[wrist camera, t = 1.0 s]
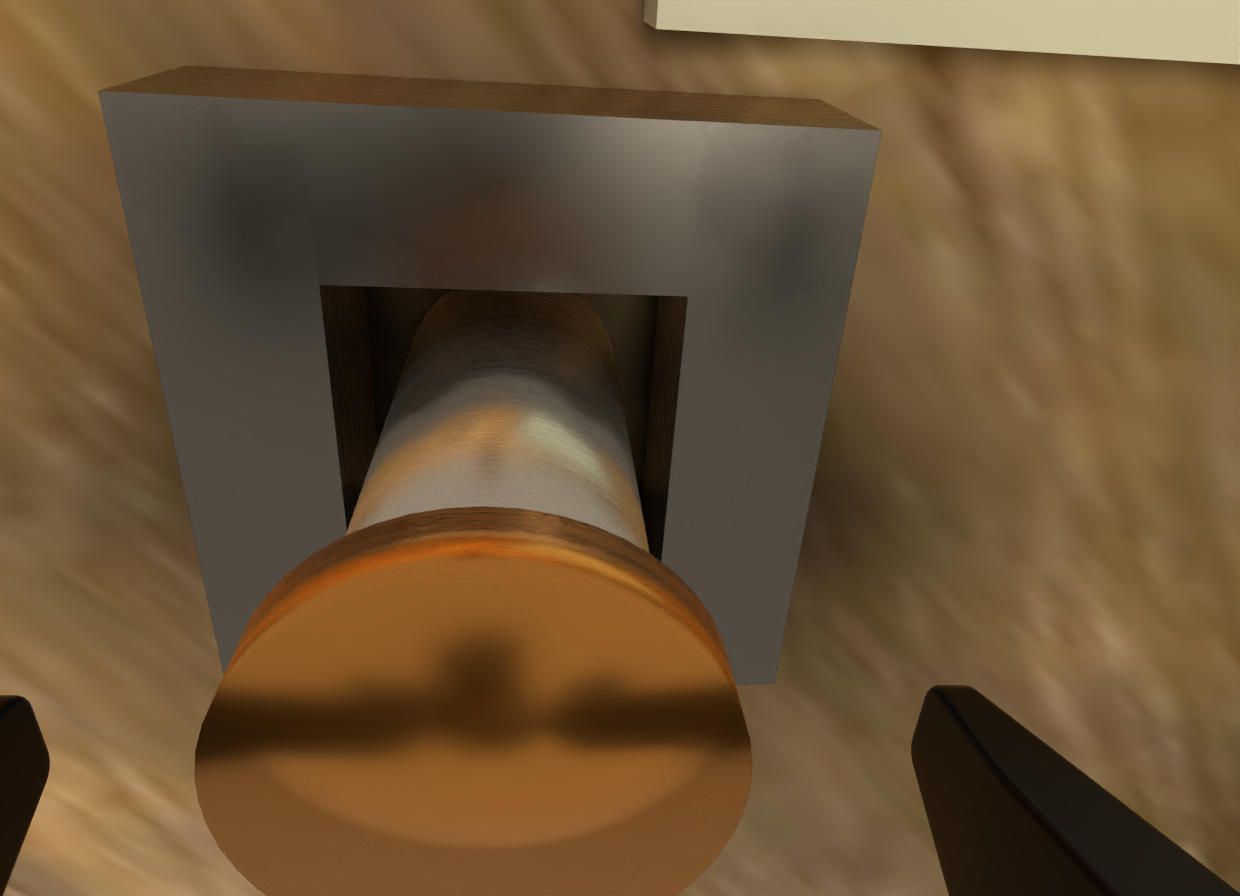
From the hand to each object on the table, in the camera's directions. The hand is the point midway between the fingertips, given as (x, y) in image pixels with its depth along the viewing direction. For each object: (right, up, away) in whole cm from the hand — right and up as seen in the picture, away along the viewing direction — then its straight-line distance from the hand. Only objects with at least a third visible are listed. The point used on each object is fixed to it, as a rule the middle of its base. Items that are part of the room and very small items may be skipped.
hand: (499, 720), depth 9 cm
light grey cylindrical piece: (-1, +4, +7) cm, 9 cm away
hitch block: (-1, +4, +7) cm, 9 cm away
